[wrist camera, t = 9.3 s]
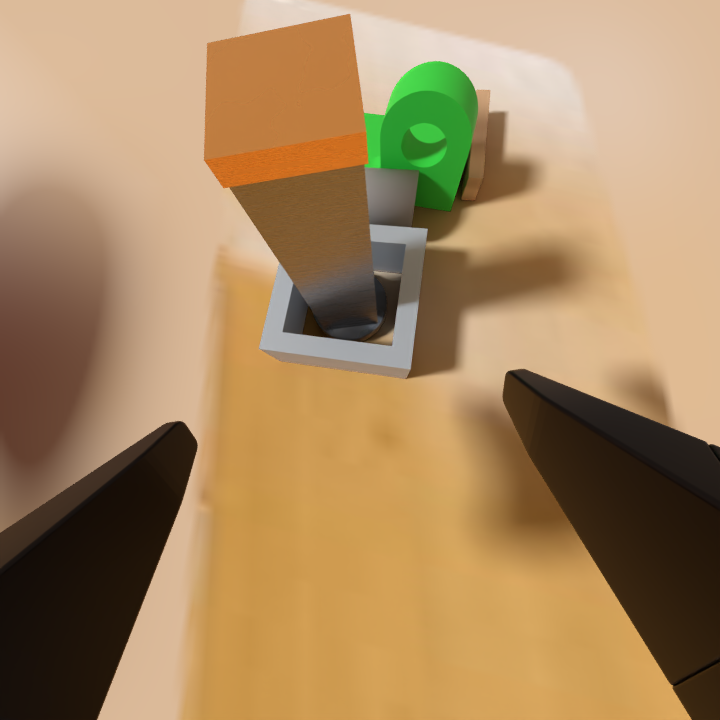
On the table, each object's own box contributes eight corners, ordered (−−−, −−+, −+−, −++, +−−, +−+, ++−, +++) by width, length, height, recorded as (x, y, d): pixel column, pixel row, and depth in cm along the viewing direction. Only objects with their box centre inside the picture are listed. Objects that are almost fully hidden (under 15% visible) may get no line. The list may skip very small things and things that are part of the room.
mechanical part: (464, 150, 23) (505, 10, 15) (449, 213, 22) (486, 96, 14) (325, 132, 24) (298, -3, 17) (305, 189, 23) (265, 73, 15)
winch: (405, 378, 19) (411, 367, 15) (280, 361, 20) (255, 346, 16) (427, 203, 22) (437, 155, 18) (316, 195, 23) (302, 149, 19)
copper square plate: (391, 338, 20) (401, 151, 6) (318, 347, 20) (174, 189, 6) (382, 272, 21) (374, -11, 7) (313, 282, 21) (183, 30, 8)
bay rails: (474, 200, 21) (483, 178, 19) (277, 187, 23) (267, 166, 21) (481, 118, 23) (490, 90, 21) (296, 112, 25) (288, 86, 23)
